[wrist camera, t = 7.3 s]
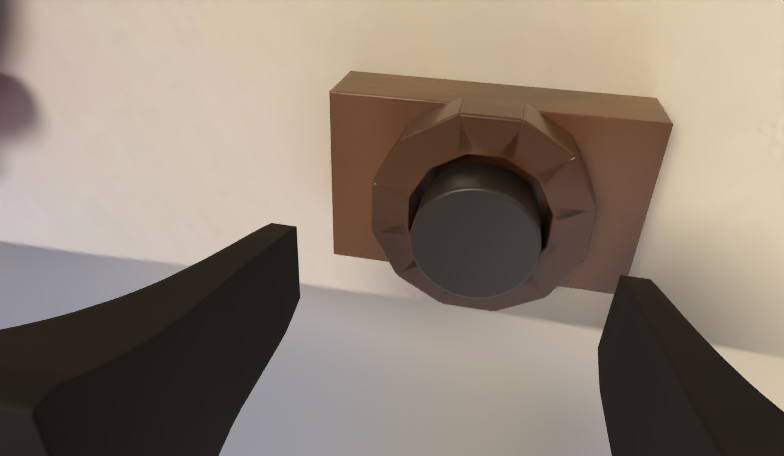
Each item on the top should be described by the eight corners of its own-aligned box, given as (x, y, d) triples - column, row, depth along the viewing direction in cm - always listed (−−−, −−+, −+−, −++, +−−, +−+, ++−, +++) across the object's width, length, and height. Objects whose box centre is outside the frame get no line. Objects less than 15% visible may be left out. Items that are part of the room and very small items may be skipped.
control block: (659, 90, 18) (690, 135, 14) (612, 262, 21) (628, 332, 18) (350, 63, 19) (311, 98, 16) (351, 227, 23) (319, 285, 19)
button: (550, 168, 16) (552, 196, 14) (530, 274, 18) (530, 308, 16) (423, 154, 16) (412, 180, 15) (416, 258, 18) (406, 289, 17)
